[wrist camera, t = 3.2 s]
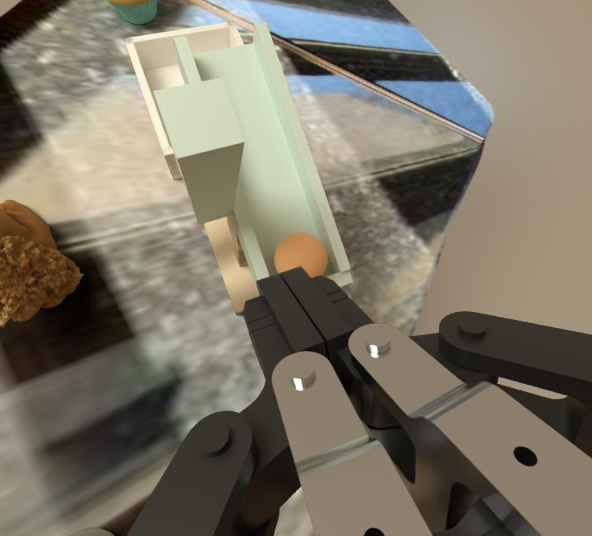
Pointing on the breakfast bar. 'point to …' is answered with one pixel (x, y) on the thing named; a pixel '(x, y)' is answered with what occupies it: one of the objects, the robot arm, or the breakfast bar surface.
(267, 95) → the tilting chute
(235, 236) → the fulcrum stand
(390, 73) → the breakfast bar surface
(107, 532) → the coffee cup
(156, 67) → the tub
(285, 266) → the ball
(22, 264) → the stuffed squirrel
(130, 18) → the cupcake
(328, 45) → the breakfast bar surface
